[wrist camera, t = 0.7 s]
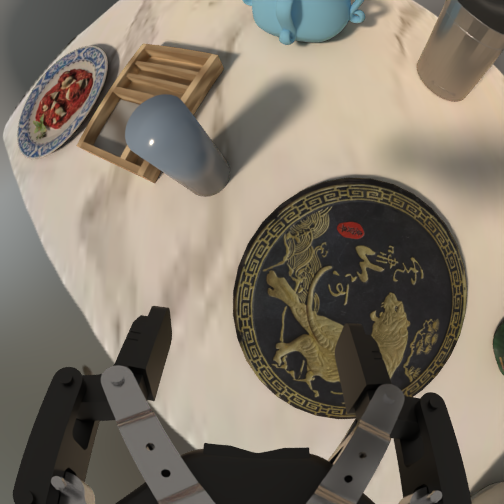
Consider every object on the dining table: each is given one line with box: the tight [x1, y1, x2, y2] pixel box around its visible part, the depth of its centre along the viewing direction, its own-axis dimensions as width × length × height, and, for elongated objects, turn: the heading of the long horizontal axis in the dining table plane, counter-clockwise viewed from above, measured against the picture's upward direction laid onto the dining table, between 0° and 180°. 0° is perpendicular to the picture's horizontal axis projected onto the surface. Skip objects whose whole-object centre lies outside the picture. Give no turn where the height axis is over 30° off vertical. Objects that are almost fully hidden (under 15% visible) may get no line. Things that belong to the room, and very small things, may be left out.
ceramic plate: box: [17, 46, 108, 159], centre depth 42 cm, size 26×26×3 cm
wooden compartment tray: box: [77, 44, 224, 183], centre depth 38 cm, size 20×15×4 cm
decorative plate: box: [233, 178, 467, 419], centre depth 33 cm, size 30×2×30 cm
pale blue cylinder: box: [125, 94, 230, 197], centre depth 30 cm, size 6×6×15 cm
